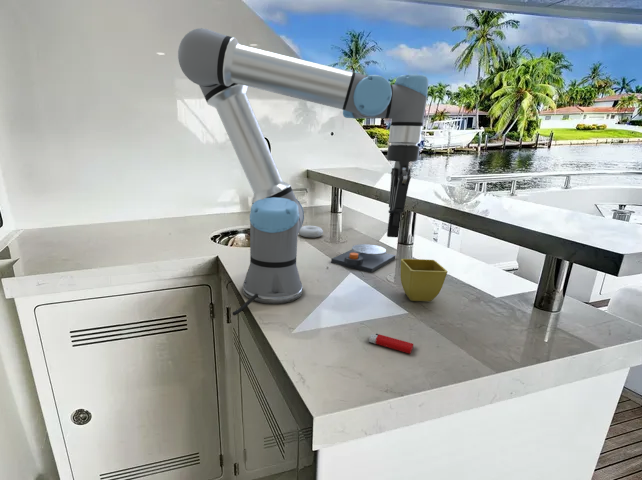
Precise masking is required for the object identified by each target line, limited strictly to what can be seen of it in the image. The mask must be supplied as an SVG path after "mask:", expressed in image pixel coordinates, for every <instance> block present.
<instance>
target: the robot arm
mask: <svg viewBox="0 0 642 480" xmlns="http://www.w3.org/2000/svg"><path fill="white" fill-rule="evenodd" d="M177 60H178V64H179V67H180V70H181V71H182V73H183V74H184V76H185V77H186V78H187V79H188V80H189V81H190V82H192V83H193V84H196V85H198V86H199V88H200V90H201V92H202V95H203V97H204V99H205V101H206V104H207V105H208V106H210V107H212V108H214V109H216V112H217V115H218V116H219V118H220V121H221V123H222V126H223V128H224V130H225V132H226V135H227V136H228V139H229V141H230V143H231V145H232V148H233V150H234V152H235V155H236V157H237V159H238V161H239V164H240V166H241V169H242V170H243V173H244V175H245V177H246V179H247V182H248V184H249V186H250V189H251V190H252V193H253V196H252V199H251V207H250V213H249V224H250V225H249V259H250V260H249V265H248V269H247V270H246V271H247V272H246V275H245V278H244V281H243V284H242V293H243V295H244V296H245V297H246V298H247V299H248V300H246V301H245V302H244V303H243V304H242V306H240V307H239V308H238V309H236V310H235V311H233V312H232V315H233V316H237V315H238V314H240V313H241V312H243V311H244V310H245V309H246V308H247V307H248V306H249V305H250V304H252V302H253V301H255V302H258V303H262V304H275V305H276V304H277V305H278V304H286V303H291V302H293V301H295V300H297V299H299V298H300V297H301V296H302V294H303V283H302V280H301V277H300V274H299V270H298V266H297V256H298V255H297V252H298V236H299V230H300V229H301V227H302V226H303V224H304V220H305V212H304V208H303V205H302V203H301V202H300V201H299V200H298V199H297V197H296V195H295V193H294V190H293V188H292V185H291V184H290V183H288V182H285V181H284V180H283V179H282V176H281V174H280V172H279V170H278V167H277V164H276V162H275V160H274V158H273V155H272V153H271V150H270V147H269V146H268V145H269V144H268V143H267V141H266V139H265V135H264V133H263V131H262V129H261V126H260V124H259V122H258V119H257V117H256V115H255V112H254V110H253V108H252V104H251V103H250V100H249V98H248V96H247V92H248V88H249V87H250V88H253V89H256V90H262V91H265V92H268V93H269V92H270V93H274V94H278V95H281V96H286V97H289V98H293V99H298V100H302V101H306V102H310V103H314V104H319V105H323V106H327V107H331V108H334V109H338V110H342V116H343V117H344V118H345V119H353V120H354V119H355V120H358V119H386V120H388V119H390V126H389V133H388V134H389V135H388V143H390V144H389V145H388V146H387V154H386V159H387V161H389V162H394V165H393V167H392V168H391V171H390V186H389V201H388V208H389V210H388V214H389V216H388V223H387V231H386V237H387V238H399V234H400V225H401V220H402V219H401V218H402V214H403V213H404V211H405V206H406V200H407V196H408V190H409V185H410V182H411V179H412V176H411V169H410V163H412V162H417V161H419V156H420V151H421V150H420V149H421V147H420V146H419V145H418V144H421V140H422V136H423V135H424V134H425V131H424V130H423V126H424V119H425V113H426V107H427V99H428V98H429V97H428V91H429V78H428V77H427V75H424V74H415V73H413V74H402V75H398V76H397V77H396V78H395V82H394V84H390V82H389V80H388V79H387V78H385V77H384V76H382V75H380V74H369V75H367V74H363V73H359V72H353V71H350V70H347V69H343V68H340V67H339V68H338V67H334V66H330V65H327V64H326V65H325V64H322V63H317V62H314V61H309V60H306V59H301V58H297V57H293V56H288V55H285V54H281V53H277V52H273V51H269V50H265V49H264V50H263V49H260V48H256V47H251V46H248V45H243V44H240V43H239V40H238V39H237V38H236V37H234V36H229V35H225V34H223V33H219V32H216V31H214V30H212V29H209V28H202V27H201V28H195V29H194V28H193V29H192V30H190V31H188V32H187V33H186V34H185V35H184V36H183V38H181V41H180V43H179V46H178V51H177Z"/></svg>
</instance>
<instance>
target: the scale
mask: <svg viewBox="0 0 642 480" xmlns="http://www.w3.org/2000/svg"><path fill="white" fill-rule="evenodd" d="M350 253H357V252H354V251H353V250H352V249H350V250H348V251H346V252H343V253H341V254H339V255H336V256H334V257H332V258H331V260H330V263H332V264H334V265H335V264H336V265H338V266H339V265H340V266H342V267H343V266H344V267H347V268H351V269H355V270H359V271H362V272H367V273H371V274H372V273H374V272H376V271H377V270H379V269H380V268H382V267H384V266H386V265H388V264H390V263H391V262H392V261H394V260H396V257H397V256H396V254H393V253H387V252H386V253H385V254H382V255H365V254H360V253H358V259H351V258H349V257H350Z"/></svg>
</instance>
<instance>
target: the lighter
mask: <svg viewBox="0 0 642 480" xmlns="http://www.w3.org/2000/svg"><path fill="white" fill-rule="evenodd" d="M368 342H369V343H371V344H374V345H378V346H382V347H385V348H388V349H392V350H395V351H399V352H403V353H406V354H409V355H410V354H411V353H412V351H413V349H414V343H413V342H409V341H405V340H401V339H399V338H394V337H390V336H387V335H383V334H380V333H371V334H370V335H369V338H368Z"/></svg>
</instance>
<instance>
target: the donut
mask: <svg viewBox="0 0 642 480" xmlns="http://www.w3.org/2000/svg"><path fill="white" fill-rule="evenodd" d="M323 234H324V230H323V228H322V227H320V226H317V225H302V227H301V229H300V230H299V233H298V235H299V236H301V237H303V238H309V239H315V238H321V237H322V235H323Z"/></svg>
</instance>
